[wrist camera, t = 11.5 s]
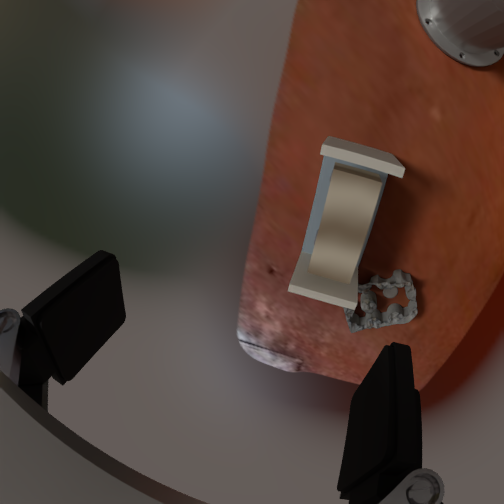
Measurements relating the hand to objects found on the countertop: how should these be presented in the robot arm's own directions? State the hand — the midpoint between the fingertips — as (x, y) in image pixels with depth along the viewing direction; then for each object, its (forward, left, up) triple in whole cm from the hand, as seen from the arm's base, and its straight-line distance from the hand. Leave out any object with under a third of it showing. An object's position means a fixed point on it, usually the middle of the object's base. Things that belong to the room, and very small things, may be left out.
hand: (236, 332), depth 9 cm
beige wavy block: (+5, +4, -26) cm, 27 cm away
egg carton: (+16, +13, -31) cm, 37 cm away
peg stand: (+5, +4, -30) cm, 31 cm away
